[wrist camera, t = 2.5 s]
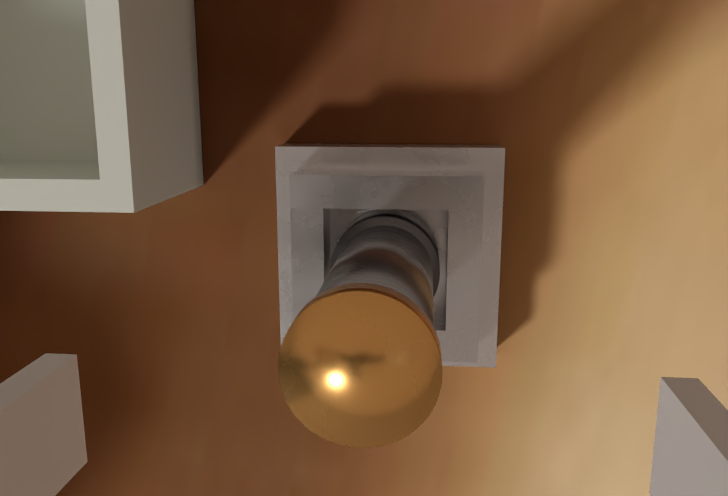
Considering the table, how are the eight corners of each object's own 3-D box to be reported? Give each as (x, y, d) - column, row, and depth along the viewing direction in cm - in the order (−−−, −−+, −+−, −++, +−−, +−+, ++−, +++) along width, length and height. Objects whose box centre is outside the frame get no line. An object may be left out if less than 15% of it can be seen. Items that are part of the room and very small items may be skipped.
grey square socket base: (289, 345, 34) (271, 377, 31) (284, 143, 32) (264, 150, 28) (492, 351, 34) (500, 385, 30) (500, 144, 31) (510, 151, 27)
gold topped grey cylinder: (337, 306, 32) (276, 447, 19) (336, 208, 31) (271, 287, 18) (438, 309, 31) (444, 455, 19) (440, 209, 30) (448, 291, 18)
